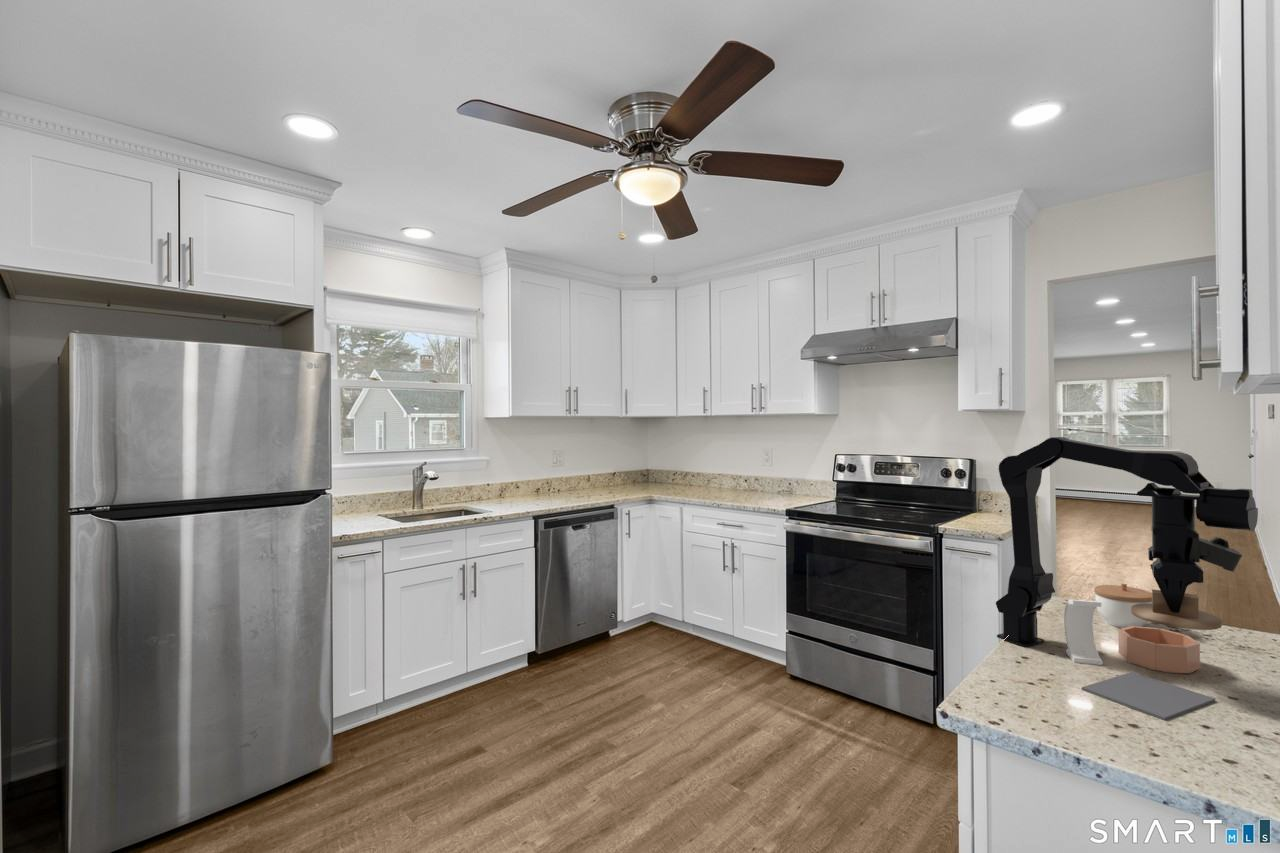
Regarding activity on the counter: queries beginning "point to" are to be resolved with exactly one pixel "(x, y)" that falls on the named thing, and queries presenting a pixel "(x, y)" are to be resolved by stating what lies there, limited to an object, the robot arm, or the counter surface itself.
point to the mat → (1148, 695)
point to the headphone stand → (1081, 631)
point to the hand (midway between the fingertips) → (1174, 610)
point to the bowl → (1159, 649)
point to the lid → (1184, 619)
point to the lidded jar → (1121, 604)
